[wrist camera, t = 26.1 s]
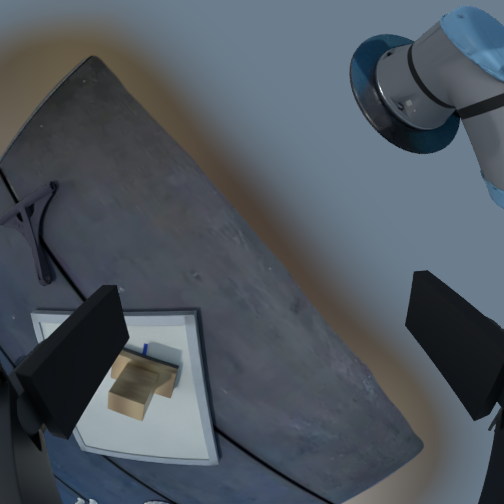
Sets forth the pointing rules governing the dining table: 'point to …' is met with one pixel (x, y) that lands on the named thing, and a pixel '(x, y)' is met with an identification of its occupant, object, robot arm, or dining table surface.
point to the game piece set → (81, 501)
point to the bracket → (32, 226)
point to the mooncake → (155, 502)
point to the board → (160, 408)
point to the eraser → (139, 382)
